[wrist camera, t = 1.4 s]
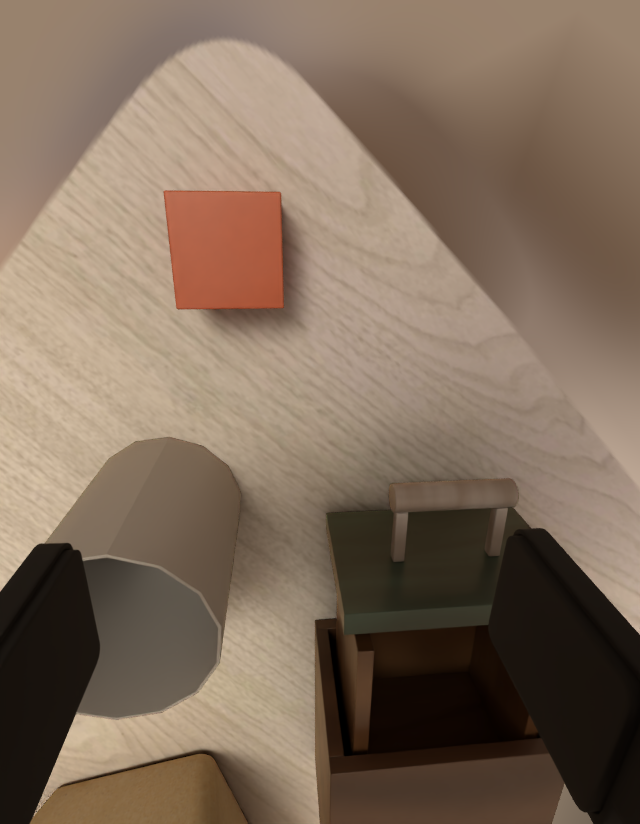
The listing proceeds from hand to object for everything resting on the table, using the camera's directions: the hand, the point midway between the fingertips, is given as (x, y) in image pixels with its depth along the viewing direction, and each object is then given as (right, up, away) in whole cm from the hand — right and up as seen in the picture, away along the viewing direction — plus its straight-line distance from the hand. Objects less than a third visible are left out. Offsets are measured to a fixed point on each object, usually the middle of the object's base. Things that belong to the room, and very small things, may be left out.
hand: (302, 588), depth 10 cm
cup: (-9, -1, +17) cm, 19 cm away
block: (-4, +12, +12) cm, 17 cm away
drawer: (+6, -6, +19) cm, 21 cm away
